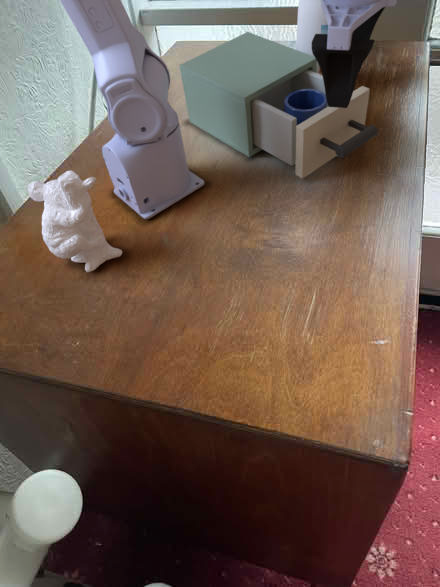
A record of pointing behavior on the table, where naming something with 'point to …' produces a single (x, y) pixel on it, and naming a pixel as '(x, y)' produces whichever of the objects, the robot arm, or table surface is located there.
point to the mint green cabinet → (237, 85)
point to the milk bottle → (310, 26)
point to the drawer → (309, 126)
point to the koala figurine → (72, 221)
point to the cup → (304, 104)
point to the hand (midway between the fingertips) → (344, 87)
